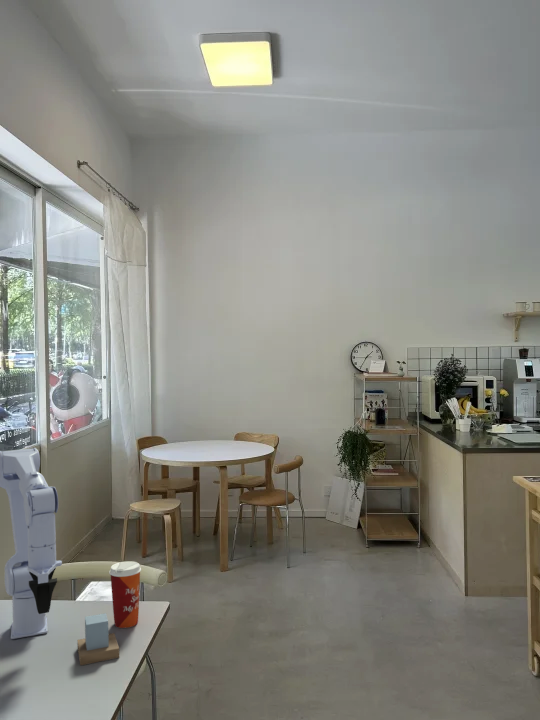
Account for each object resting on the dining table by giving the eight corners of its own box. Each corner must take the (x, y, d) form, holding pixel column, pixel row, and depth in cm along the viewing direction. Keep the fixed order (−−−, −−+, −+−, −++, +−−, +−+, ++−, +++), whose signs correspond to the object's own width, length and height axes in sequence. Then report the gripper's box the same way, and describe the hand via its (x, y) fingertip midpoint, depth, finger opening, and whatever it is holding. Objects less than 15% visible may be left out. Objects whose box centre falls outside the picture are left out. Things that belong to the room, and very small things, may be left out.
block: (85, 641, 130) (84, 616, 130) (106, 637, 131) (105, 613, 131) (86, 650, 125) (86, 624, 125) (108, 646, 127) (108, 621, 127)
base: (77, 648, 130) (77, 639, 131) (114, 641, 134) (114, 632, 134) (80, 665, 123) (80, 655, 123) (119, 657, 126) (119, 648, 126)
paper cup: (134, 631, 139) (133, 571, 139) (104, 629, 140) (103, 570, 140) (147, 617, 146) (146, 560, 147) (119, 615, 148) (118, 559, 148)
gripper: (62, 549, 124) (64, 614, 123) (59, 533, 137) (61, 592, 137) (26, 554, 121) (28, 621, 121) (27, 537, 135) (28, 597, 134)
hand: (43, 606), depth 129 cm, fingers open, 7 cm apart
